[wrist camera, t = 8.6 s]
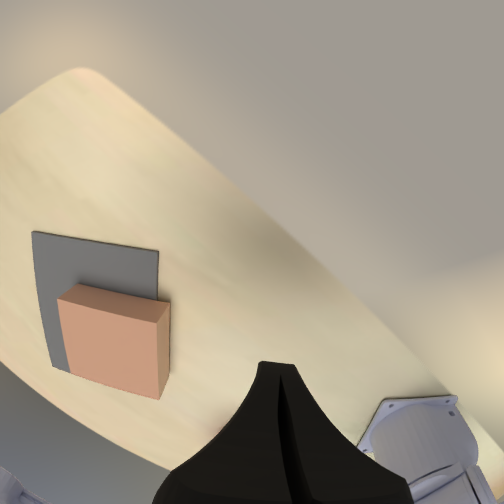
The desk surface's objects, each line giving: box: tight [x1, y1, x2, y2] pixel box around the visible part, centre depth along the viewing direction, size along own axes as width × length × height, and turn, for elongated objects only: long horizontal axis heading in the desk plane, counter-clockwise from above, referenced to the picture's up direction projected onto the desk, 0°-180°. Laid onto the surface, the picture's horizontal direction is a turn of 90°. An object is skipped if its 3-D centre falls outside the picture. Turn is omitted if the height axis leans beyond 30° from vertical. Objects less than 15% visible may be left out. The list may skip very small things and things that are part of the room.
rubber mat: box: [31, 231, 159, 386], centre depth 23 cm, size 12×14×1 cm
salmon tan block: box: [57, 283, 170, 400], centre depth 21 cm, size 3×7×8 cm
